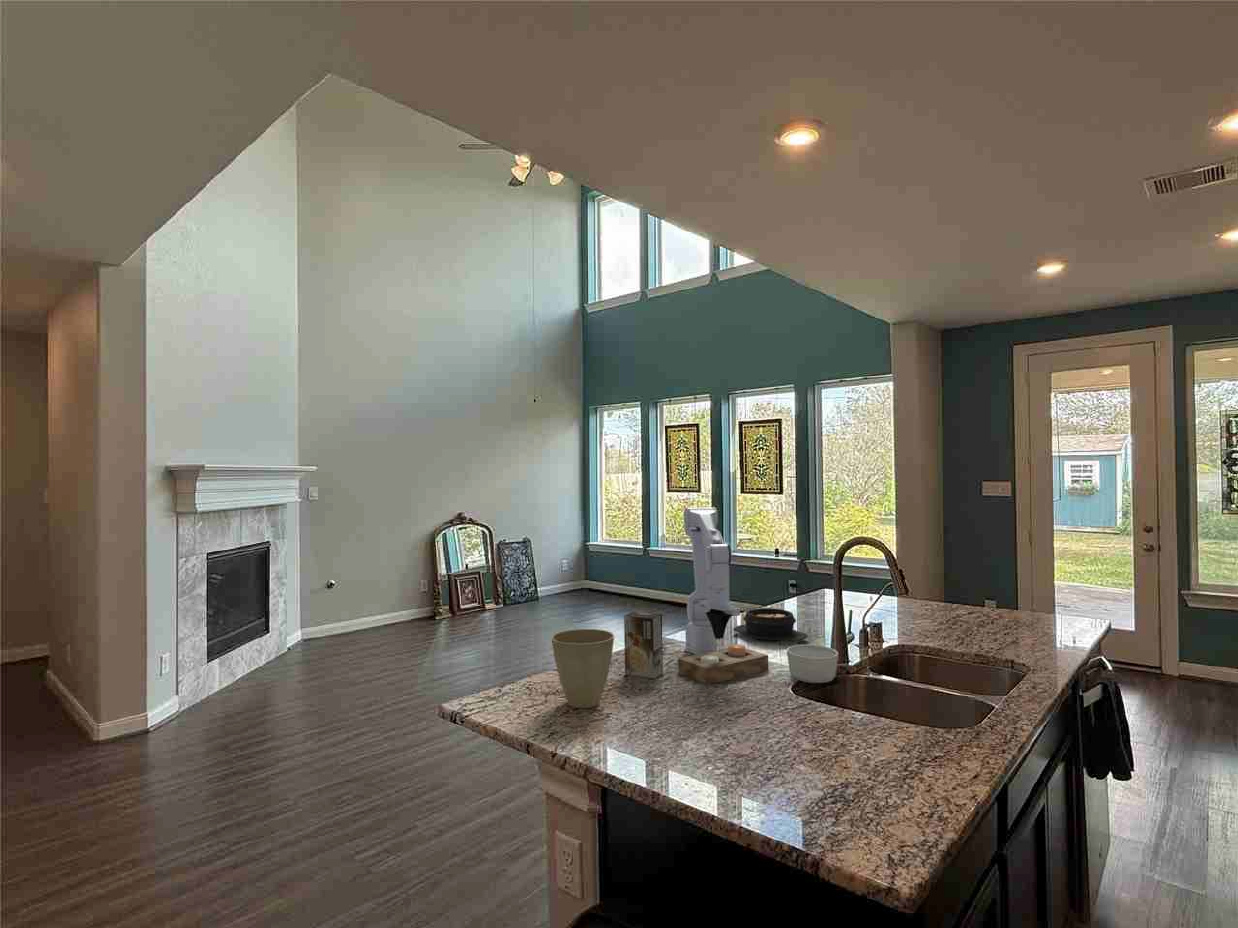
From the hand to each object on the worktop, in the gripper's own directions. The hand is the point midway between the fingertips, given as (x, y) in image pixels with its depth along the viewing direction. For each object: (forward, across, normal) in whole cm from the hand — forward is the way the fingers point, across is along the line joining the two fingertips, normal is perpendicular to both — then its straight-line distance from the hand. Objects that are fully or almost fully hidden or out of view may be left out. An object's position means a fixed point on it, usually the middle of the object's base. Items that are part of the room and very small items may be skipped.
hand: (719, 637), depth 178 cm
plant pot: (+10, 0, -42) cm, 44 cm away
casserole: (+10, -18, +38) cm, 44 cm away
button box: (+9, 0, +2) cm, 9 cm away
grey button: (+8, 0, -3) cm, 9 cm away
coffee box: (+10, -11, -18) cm, 23 cm away
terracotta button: (+7, 0, +7) cm, 9 cm away
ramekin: (+10, +17, +18) cm, 26 cm away
